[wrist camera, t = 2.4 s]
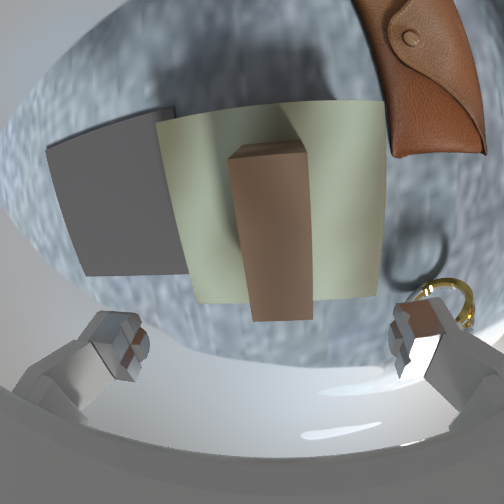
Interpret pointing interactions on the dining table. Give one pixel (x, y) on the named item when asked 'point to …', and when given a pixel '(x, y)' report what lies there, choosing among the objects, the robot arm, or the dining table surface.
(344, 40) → the dining table surface
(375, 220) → the lid
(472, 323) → the ring
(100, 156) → the mat
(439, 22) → the sunglasses case
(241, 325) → the dining table surface
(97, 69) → the dining table surface
